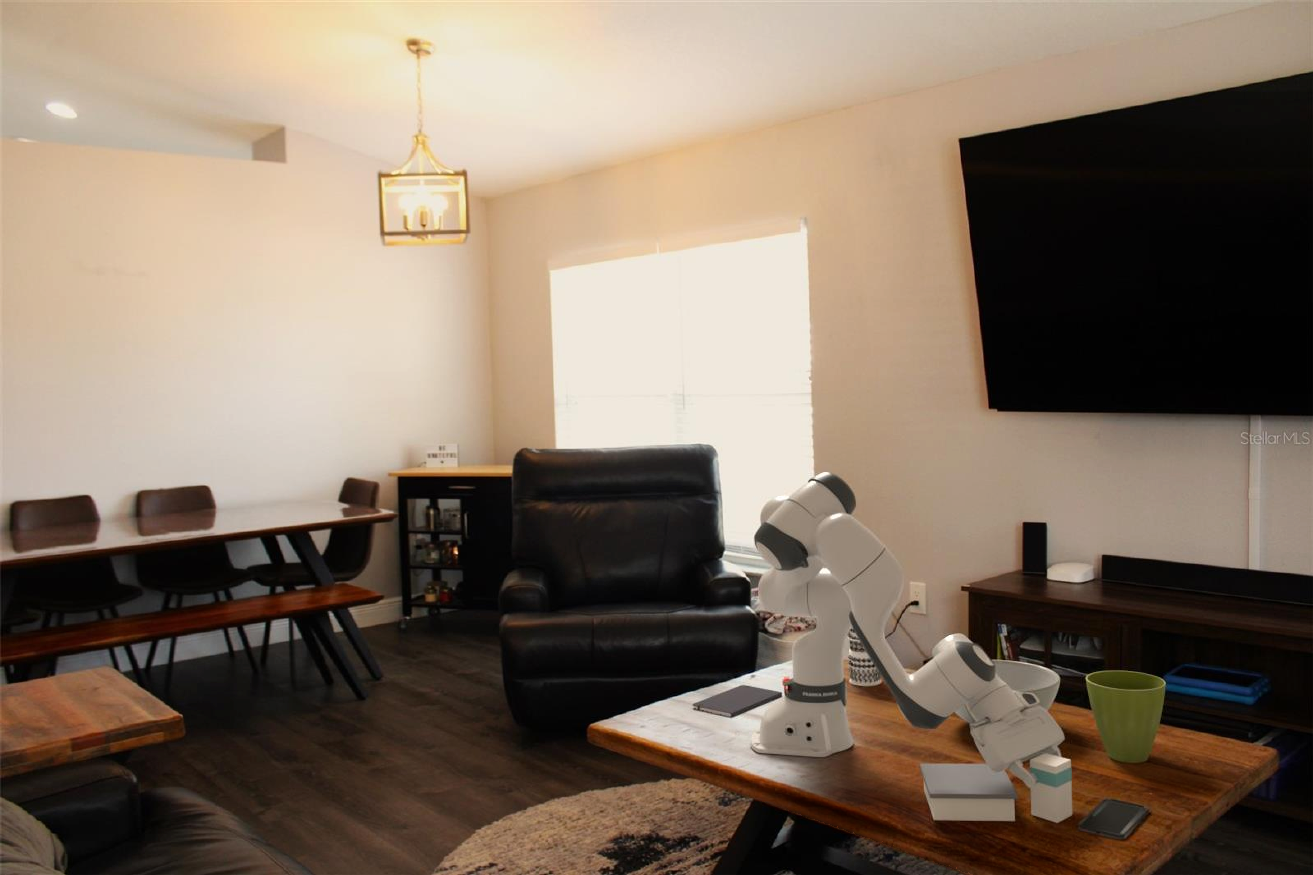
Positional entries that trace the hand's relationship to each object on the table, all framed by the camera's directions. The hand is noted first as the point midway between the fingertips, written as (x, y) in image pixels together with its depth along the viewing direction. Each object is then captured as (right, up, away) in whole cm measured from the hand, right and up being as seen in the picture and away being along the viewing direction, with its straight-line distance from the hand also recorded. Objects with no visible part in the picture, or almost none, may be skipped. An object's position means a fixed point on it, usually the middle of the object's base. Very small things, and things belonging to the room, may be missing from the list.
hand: (1049, 778), depth 184 cm
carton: (+1, -7, 0) cm, 7 cm away
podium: (-13, -7, +6) cm, 16 cm away
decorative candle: (-15, -4, +90) cm, 91 cm away
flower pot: (+26, -5, +27) cm, 38 cm away
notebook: (-50, -7, +77) cm, 92 cm away
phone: (+10, -7, -3) cm, 13 cm away
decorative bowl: (+7, -5, +49) cm, 50 cm away
